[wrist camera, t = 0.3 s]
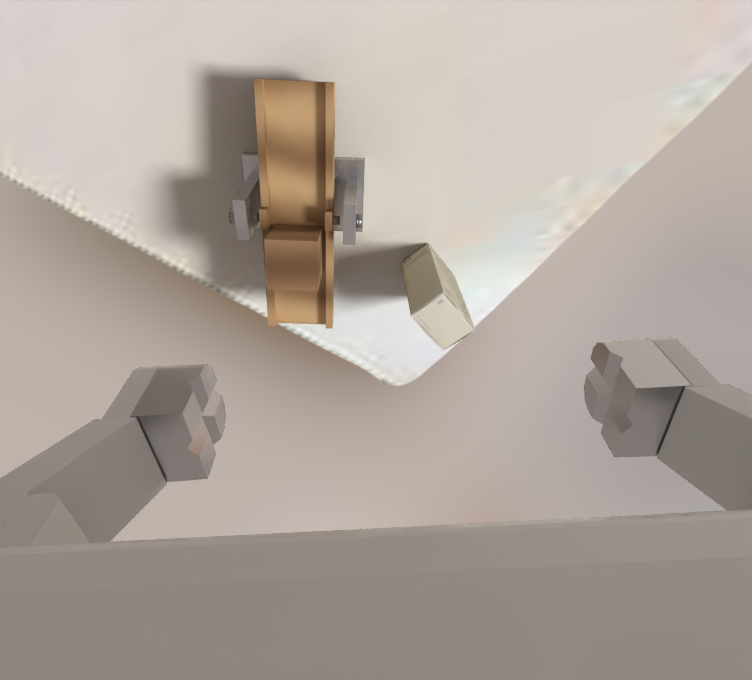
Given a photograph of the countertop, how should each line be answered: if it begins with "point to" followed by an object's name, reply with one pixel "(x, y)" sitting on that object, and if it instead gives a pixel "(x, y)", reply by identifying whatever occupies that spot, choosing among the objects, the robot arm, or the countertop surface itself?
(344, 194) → the pivot stand
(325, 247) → the beam
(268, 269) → the block
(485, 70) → the countertop surface
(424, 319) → the skincare box
